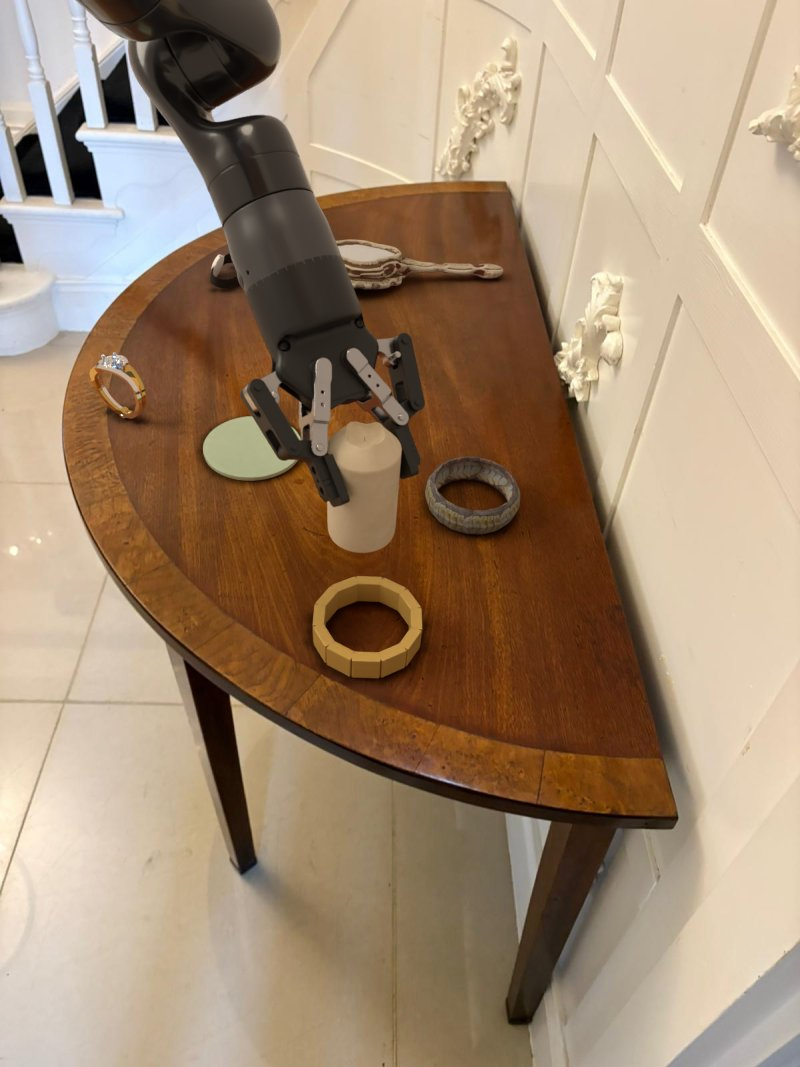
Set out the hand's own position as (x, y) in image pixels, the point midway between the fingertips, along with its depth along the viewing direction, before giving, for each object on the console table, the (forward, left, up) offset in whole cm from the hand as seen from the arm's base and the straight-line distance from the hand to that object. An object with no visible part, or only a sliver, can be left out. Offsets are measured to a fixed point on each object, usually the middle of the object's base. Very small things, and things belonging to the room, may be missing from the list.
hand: (376, 489), depth 59 cm
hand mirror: (+37, +56, -18) cm, 69 cm away
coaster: (+1, +29, -18) cm, 34 cm away
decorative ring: (+18, +10, -18) cm, 27 cm away
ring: (-10, +41, -18) cm, 46 cm away
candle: (0, +2, -6) cm, 6 cm away
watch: (+13, +67, -18) cm, 71 cm away
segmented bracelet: (0, 0, -18) cm, 18 cm away
